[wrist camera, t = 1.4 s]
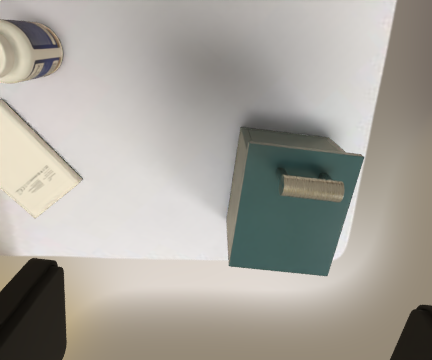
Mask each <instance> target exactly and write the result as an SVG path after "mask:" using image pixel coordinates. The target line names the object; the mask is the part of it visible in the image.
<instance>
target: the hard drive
mask: <svg viewBox="0 0 432 360" xmlns="http://www.w3.org/2000/svg"><path fill="white" fill-rule="evenodd" d="M81 180H82V178H81V177H80V176H79V175H78V174H77V173H76V172H75V171H74V170H73V169H72V168H71V167H70V166H69V165H68V164H67V163H66V162H65V161H64V160H63V159H62V158H61V157H60V156H59V155H58V154H57V153H56V152H55V151H54V150H52V149H51V148H50V147H49V146H48V145H47V144H46V143H45V142H44V141H43V140H42V139H41V138H40V137H39V136H38V135H37V134H36V133H35V132H34V131H33V130H32V129H31V128H30V127H29V126H28V125H27V124H26V123H25V122H24V121H23V120H22V119H21V118H20V117H19V116H18V115H17V114H16V113H15V112H14V111H13V110H12V109H11V108H10V107H9V106H8V105H7V104H6V103H5V102H4V101H3V100H2V99H1V100H0V188H1V189H2V190H3V191H4V192H5V193H6V194H8V195H9V196H10V197H11V198H12V199H13V200H14V201H16V202H17V203H18V204H19V205H20V206H21V207H22V208H24V209H25V210H26V211H27V212H28V213H29V214H30V215H31V216H33V217H34V218H37V217H38V216H39V215H40V214H42V213H43V212H44V211H45V210H46V209H48V208H49V207H50V206H51V205H53V204H54V203H55V202H56V201H58V200H59V199H60V198H61V197H63V196H64V195H65V194H66V193H68V192H69V191H70V190H71V189H73V188H74V187H75V186H76V185H77V184H79V183H80V182H81Z"/></svg>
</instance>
